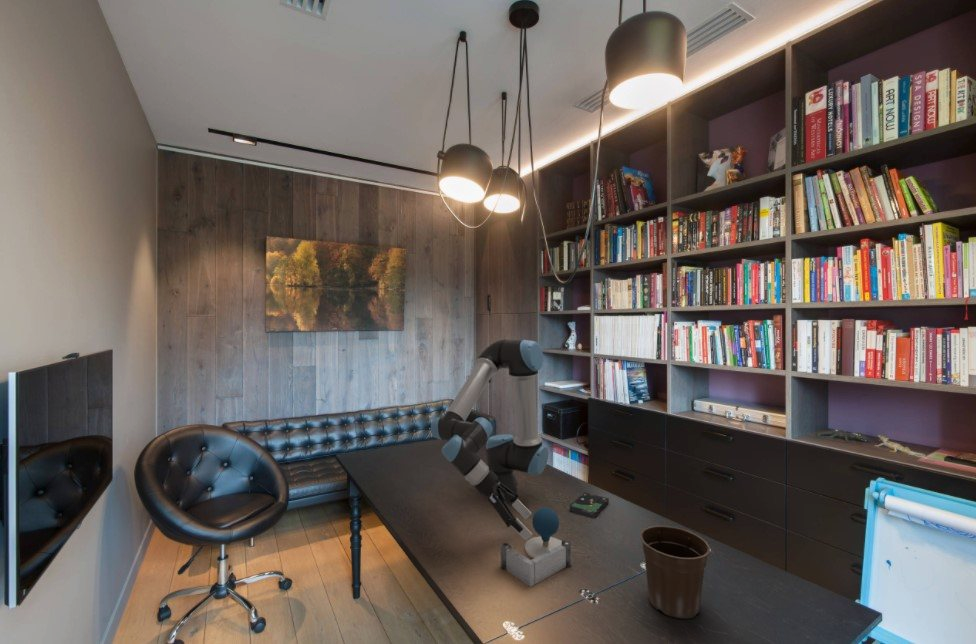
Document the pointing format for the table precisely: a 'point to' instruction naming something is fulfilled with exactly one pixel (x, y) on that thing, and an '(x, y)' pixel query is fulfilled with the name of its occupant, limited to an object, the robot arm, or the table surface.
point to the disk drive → (589, 505)
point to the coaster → (540, 546)
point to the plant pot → (674, 569)
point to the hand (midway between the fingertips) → (528, 526)
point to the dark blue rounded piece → (545, 524)
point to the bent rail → (535, 563)
